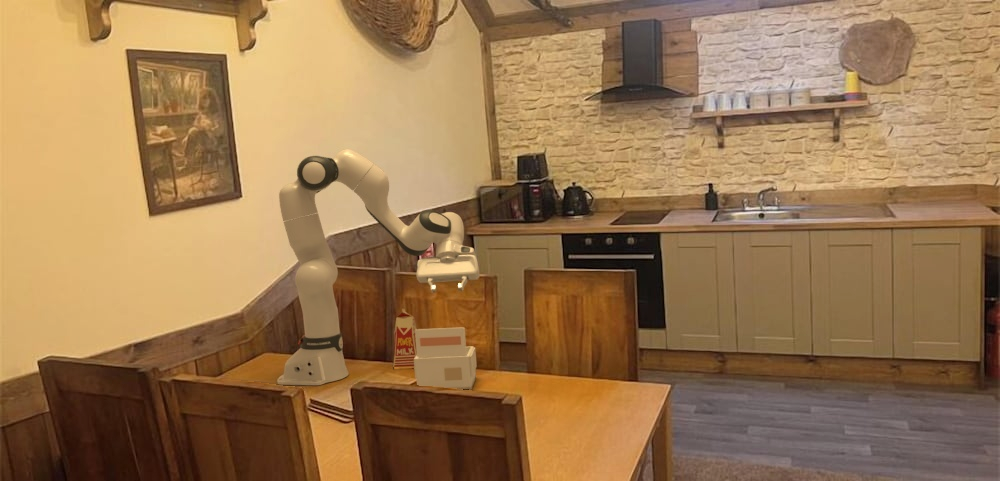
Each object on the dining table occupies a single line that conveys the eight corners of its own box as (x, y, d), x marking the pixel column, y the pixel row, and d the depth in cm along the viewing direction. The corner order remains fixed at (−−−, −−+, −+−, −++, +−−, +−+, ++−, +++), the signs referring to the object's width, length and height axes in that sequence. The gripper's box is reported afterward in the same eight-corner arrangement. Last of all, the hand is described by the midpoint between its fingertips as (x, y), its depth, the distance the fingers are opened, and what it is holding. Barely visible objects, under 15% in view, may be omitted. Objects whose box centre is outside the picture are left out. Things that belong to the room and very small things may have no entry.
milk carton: (420, 368, 241) (415, 309, 238) (392, 370, 241) (387, 310, 239) (423, 361, 250) (419, 303, 248) (396, 362, 250) (392, 305, 248)
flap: (417, 356, 214) (416, 356, 213) (415, 329, 214) (414, 329, 213) (466, 354, 213) (466, 354, 212) (464, 327, 212) (464, 327, 212)
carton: (415, 392, 215) (413, 359, 214) (423, 379, 228) (421, 348, 227) (473, 390, 214) (470, 356, 212) (477, 377, 226) (475, 345, 225)
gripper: (416, 251, 237) (412, 286, 228) (478, 247, 235) (477, 282, 226) (420, 263, 241) (416, 298, 233) (481, 259, 239) (480, 294, 231)
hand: (446, 290), depth 229 cm, fingers open, 7 cm apart
